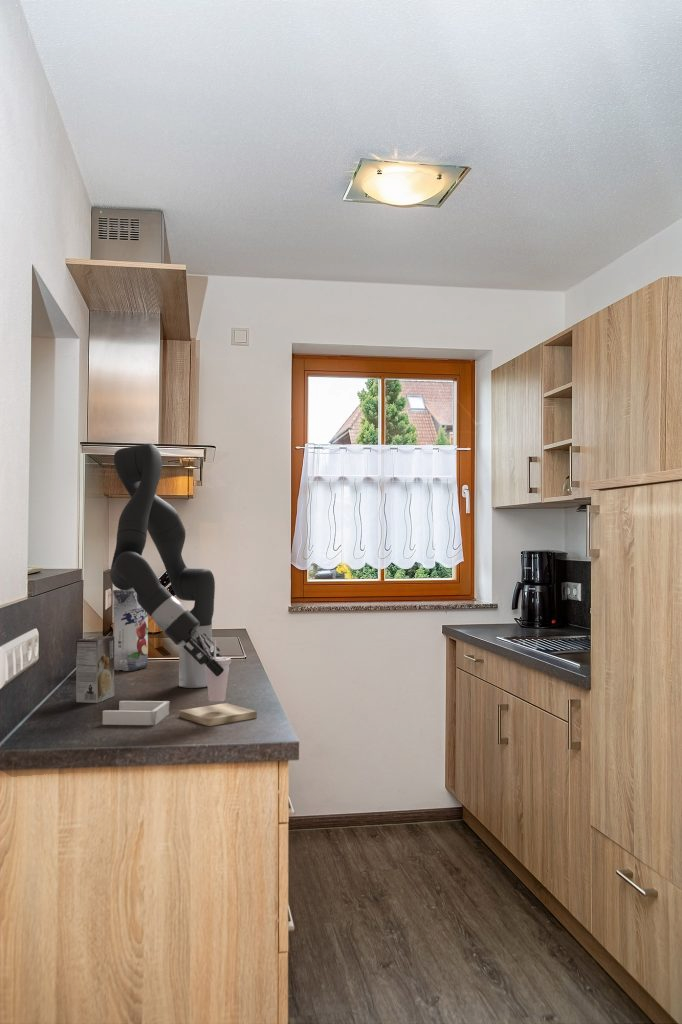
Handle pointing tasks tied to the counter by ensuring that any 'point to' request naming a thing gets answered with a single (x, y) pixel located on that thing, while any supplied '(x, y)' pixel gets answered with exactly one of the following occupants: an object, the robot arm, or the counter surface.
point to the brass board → (217, 714)
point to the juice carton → (129, 631)
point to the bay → (137, 713)
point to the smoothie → (218, 679)
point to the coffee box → (94, 669)
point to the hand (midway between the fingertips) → (224, 671)
